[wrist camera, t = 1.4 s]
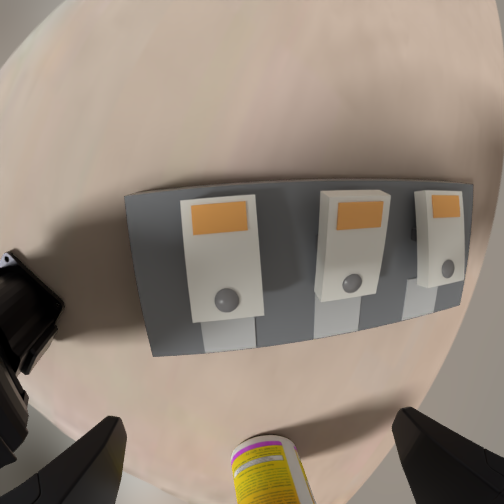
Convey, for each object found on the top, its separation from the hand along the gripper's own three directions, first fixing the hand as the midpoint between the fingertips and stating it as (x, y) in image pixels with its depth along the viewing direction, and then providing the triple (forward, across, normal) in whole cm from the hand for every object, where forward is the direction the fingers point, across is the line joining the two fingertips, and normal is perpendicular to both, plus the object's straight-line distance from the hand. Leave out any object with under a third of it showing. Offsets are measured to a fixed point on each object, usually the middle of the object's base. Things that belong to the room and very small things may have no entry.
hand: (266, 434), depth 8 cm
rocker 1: (+8, +2, -3) cm, 9 cm away
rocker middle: (+9, -5, -4) cm, 11 cm away
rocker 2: (+10, -12, -4) cm, 16 cm away
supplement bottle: (+13, -2, +19) cm, 23 cm away
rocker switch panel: (+14, -5, -2) cm, 15 cm away
